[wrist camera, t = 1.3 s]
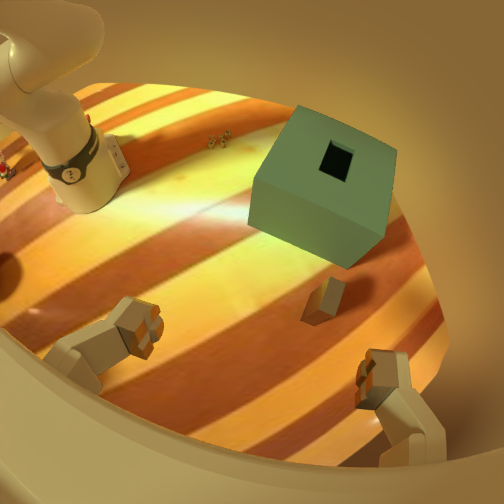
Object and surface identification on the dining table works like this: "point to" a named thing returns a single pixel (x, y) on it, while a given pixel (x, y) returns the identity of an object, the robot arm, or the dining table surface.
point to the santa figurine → (5, 169)
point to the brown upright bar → (323, 302)
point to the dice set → (222, 141)
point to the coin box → (324, 188)
